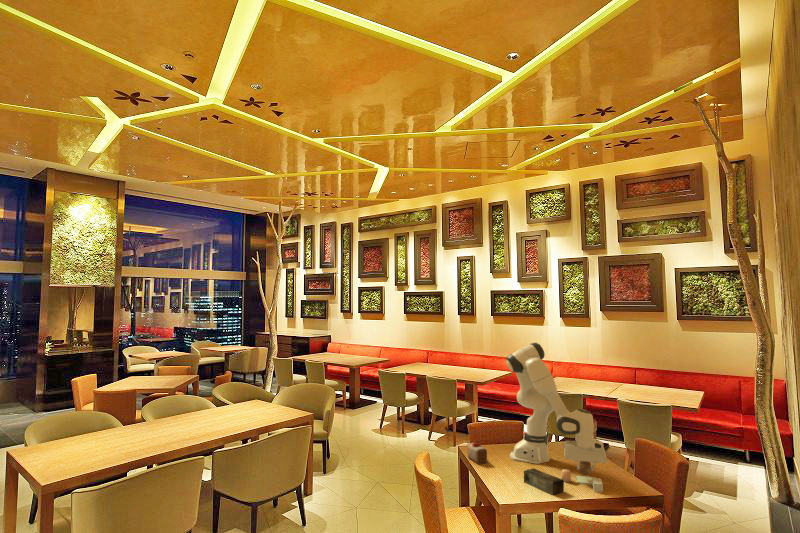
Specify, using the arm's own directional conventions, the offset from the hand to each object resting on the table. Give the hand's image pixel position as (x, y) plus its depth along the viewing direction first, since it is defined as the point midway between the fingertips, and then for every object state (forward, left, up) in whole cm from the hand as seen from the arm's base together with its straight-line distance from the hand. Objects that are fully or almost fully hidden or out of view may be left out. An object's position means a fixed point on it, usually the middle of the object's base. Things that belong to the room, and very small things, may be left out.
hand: (585, 469), depth 231 cm
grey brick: (+5, -9, -6) cm, 11 cm away
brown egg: (-9, -2, -6) cm, 11 cm away
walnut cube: (0, 0, -2) cm, 2 cm away
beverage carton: (-21, -14, -6) cm, 26 cm away
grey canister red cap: (-57, +14, -6) cm, 59 cm away
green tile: (+1, +1, -6) cm, 6 cm away
